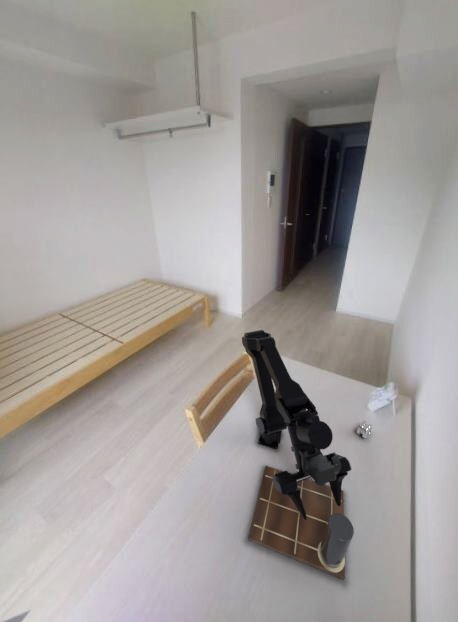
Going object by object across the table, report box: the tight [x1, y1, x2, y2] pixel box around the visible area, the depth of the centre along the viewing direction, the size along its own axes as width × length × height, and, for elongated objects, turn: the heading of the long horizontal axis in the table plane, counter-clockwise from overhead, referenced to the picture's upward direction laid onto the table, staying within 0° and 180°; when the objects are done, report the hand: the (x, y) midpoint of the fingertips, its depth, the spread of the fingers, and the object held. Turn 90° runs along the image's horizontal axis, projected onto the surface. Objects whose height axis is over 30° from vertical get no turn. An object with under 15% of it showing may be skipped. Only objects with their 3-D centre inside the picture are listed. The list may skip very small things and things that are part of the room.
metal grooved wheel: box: [356, 419, 373, 439], centre depth 91 cm, size 5×3×5 cm, turn 129°
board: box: [248, 465, 346, 581], centre depth 71 cm, size 22×19×2 cm
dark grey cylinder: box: [320, 513, 355, 568], centre depth 60 cm, size 5×5×13 cm
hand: (322, 512), depth 63 cm, fingers open, 9 cm apart
